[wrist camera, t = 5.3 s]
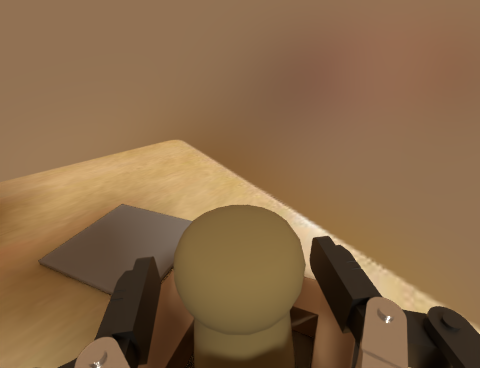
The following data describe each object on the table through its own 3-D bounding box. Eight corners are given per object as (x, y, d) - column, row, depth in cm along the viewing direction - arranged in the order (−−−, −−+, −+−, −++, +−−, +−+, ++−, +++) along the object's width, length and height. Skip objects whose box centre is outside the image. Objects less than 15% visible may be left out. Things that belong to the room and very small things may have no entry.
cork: (228, 308, 18) (216, 177, 13) (309, 350, 15) (337, 206, 10) (171, 398, 13) (114, 252, 8) (272, 481, 11) (286, 344, 5)
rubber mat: (40, 263, 22) (38, 260, 22) (122, 206, 30) (122, 203, 30) (139, 306, 18) (138, 303, 18) (205, 227, 26) (205, 224, 26)
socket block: (69, 443, 12) (48, 423, 11) (197, 266, 22) (193, 245, 20) (393, 699, 7) (421, 717, 6) (371, 321, 17) (380, 298, 15)
